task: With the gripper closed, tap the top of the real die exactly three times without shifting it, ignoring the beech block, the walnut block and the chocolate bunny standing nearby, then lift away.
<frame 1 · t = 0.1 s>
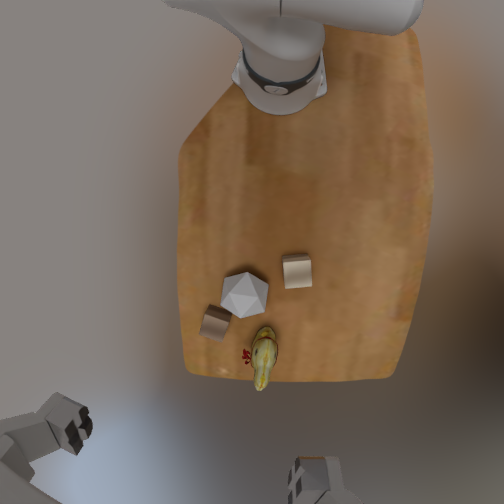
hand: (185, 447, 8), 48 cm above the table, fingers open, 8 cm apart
walnut block: (217, 317, 59), on the table
die: (246, 287, 58), on the table
beech block: (295, 267, 56), on the table
chocolate bunny: (260, 341, 60), on the table
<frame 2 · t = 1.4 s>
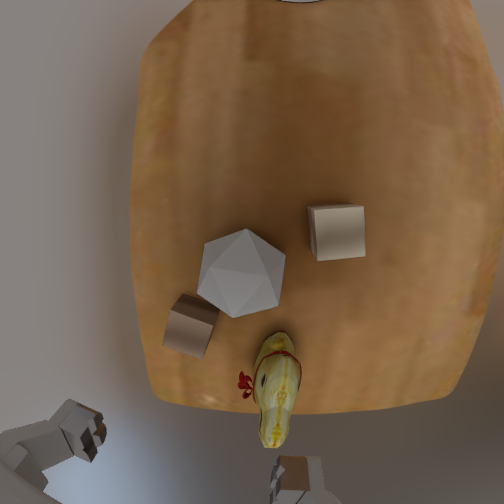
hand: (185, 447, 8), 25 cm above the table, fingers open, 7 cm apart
walnut block: (196, 316, 35), on the table
die: (244, 263, 33), on the table
beech block: (330, 226, 31), on the table
chocolate bunny: (268, 355, 36), on the table
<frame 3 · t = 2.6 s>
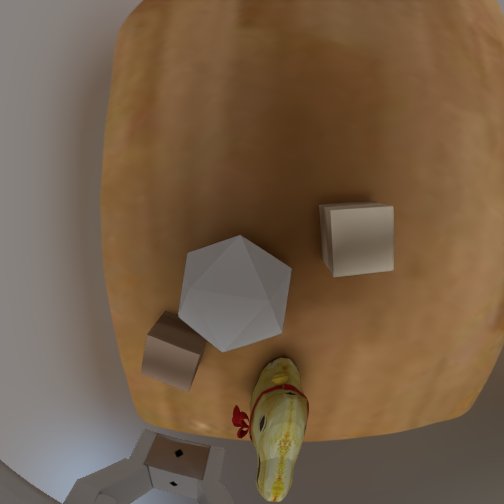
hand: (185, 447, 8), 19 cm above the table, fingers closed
walnut block: (182, 338, 28), on the table
die: (239, 276, 26), on the table
beech block: (347, 230, 25), on the table
chocolate bunny: (269, 382, 29), on the table
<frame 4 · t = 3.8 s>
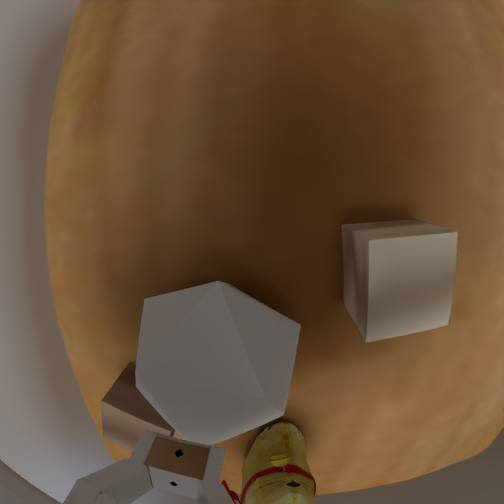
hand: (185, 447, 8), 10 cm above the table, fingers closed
walnut block: (154, 394, 20), on the table
die: (224, 325, 18), on the table
beech block: (379, 261, 16), on the table
chocolate bunny: (265, 444, 21), on the table
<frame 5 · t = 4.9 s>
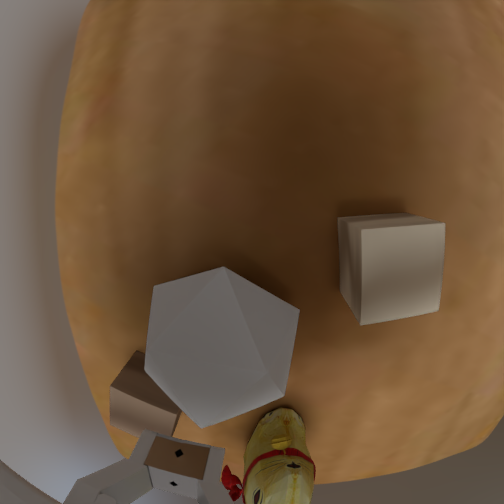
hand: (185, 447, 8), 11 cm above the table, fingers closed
walnut block: (160, 382, 21), on the table
die: (228, 312, 19), on the table
beech block: (373, 251, 18), on the table
chocolate bunny: (267, 431, 22), on the table
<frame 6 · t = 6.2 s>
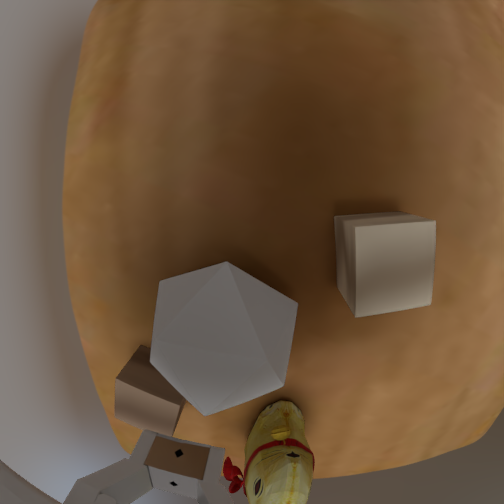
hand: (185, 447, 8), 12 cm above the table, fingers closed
walnut block: (163, 375, 22), on the table
die: (230, 307, 20), on the table
beech block: (369, 248, 19), on the table
chocolate bunny: (267, 424, 23), on the table
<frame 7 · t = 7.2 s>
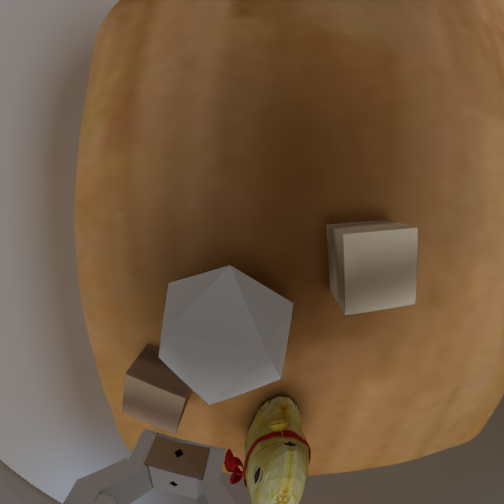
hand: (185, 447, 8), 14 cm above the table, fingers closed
walnut block: (168, 373, 24), on the table
die: (231, 308, 22), on the table
beech block: (359, 254, 21), on the table
chocolate bunny: (266, 419, 25), on the table
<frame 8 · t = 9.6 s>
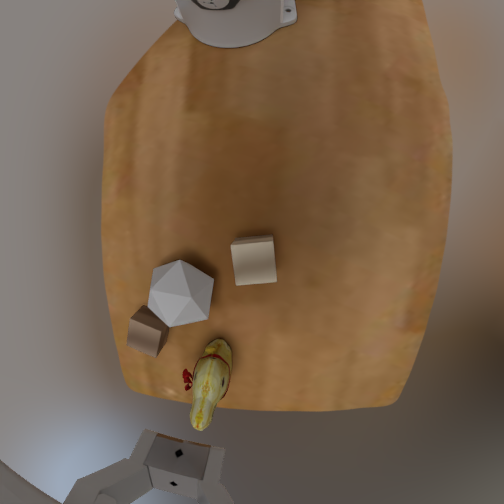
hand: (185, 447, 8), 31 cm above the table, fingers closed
walnut block: (155, 323, 42), on the table
die: (188, 283, 40), on the table
beech block: (256, 254, 39), on the table
chocolate bunny: (213, 357, 43), on the table
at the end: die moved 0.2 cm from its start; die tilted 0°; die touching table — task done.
